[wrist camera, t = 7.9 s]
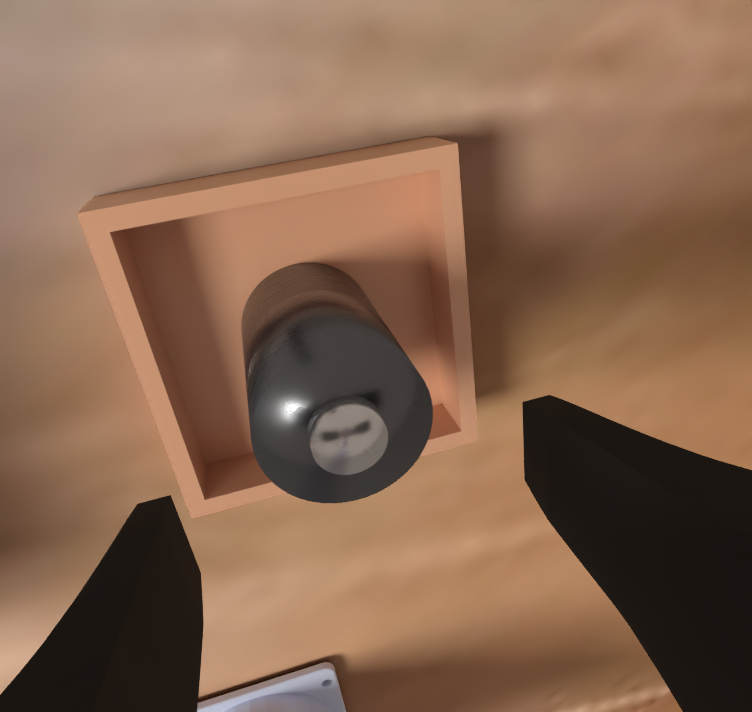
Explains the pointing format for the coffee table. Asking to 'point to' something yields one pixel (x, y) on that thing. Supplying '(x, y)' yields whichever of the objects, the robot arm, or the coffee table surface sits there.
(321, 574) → the coffee table surface
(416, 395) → the cell
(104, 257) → the dish
